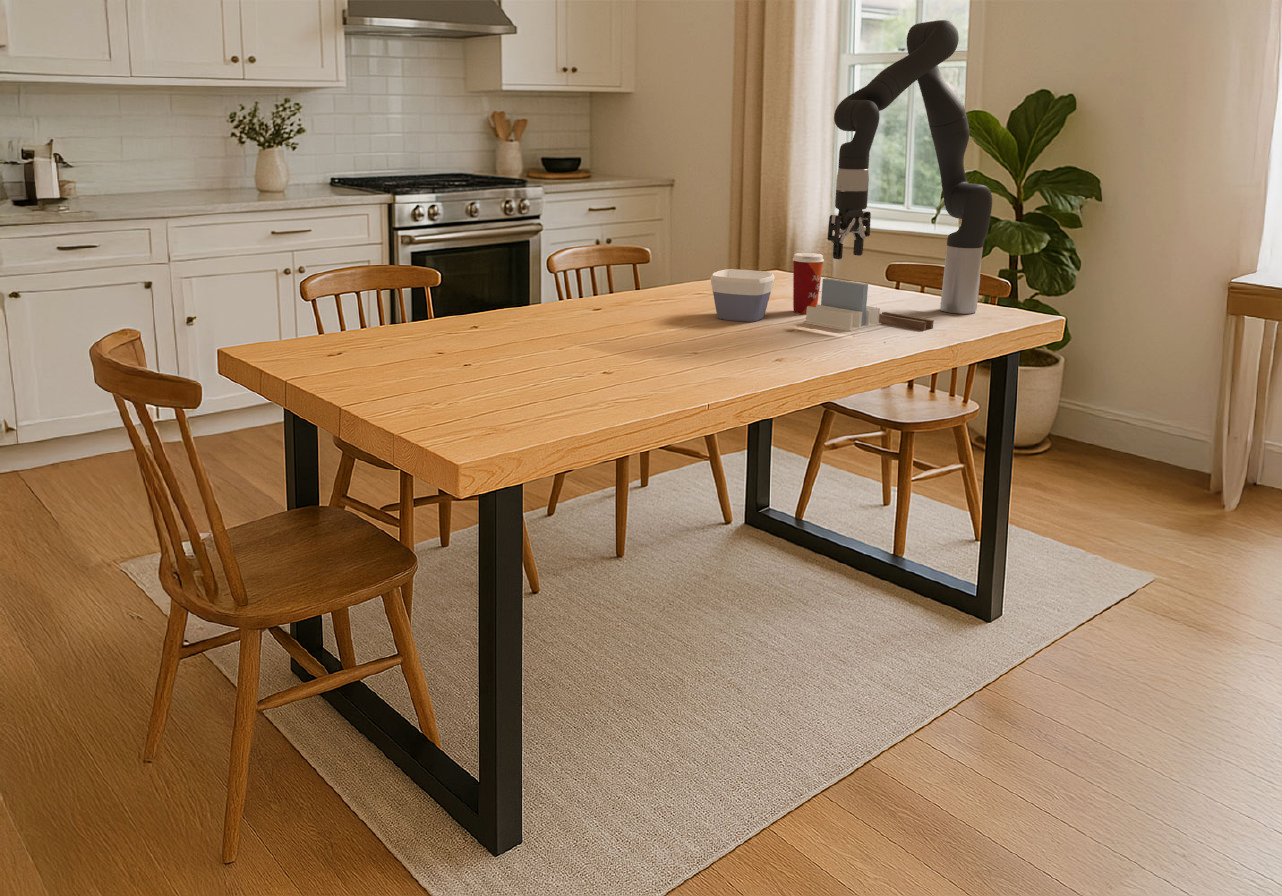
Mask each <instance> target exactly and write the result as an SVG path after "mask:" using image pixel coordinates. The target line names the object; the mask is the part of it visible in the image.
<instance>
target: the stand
mask: <svg viewBox="0 0 1282 896" xmlns="http://www.w3.org/2000/svg"><path fill="white" fill-rule="evenodd" d="M934 321H935V320H934V319H930V318H929V319H928V318H921V317H917V316H910V315H906V314H905V315H904V314H897V313H892V312H888V311H882V312H881V313H879V323H881V325H886V326H892V327H899V328H903V329H909V330H913V331H921V332H924V331H929V330H933V329H934V323H935V322H934Z"/></svg>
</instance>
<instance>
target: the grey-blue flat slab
mask: <svg viewBox="0 0 1282 896" xmlns="http://www.w3.org/2000/svg"><path fill="white" fill-rule="evenodd" d="M868 289H869V283H863V282H856V281H850V280H843V279H837V278H830V277H825V278H822V287H821V301H820V305H824V306H830V307H836V308H842V309H848V310H853V311H859V312H862V322H861V326H863V325H865V317H866V306H867V301H868V292H869V291H868Z"/></svg>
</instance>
